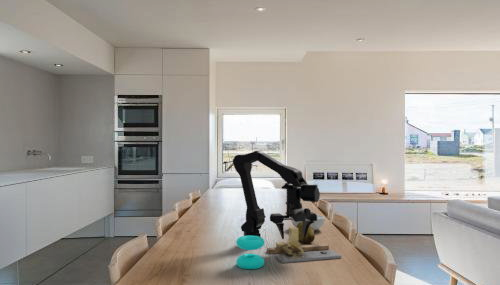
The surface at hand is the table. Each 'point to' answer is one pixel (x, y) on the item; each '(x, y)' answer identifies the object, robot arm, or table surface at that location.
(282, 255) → the hole plate
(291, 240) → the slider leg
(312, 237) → the potato
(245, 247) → the donuts
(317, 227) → the cereal bowl
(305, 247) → the rail
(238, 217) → the table surface
